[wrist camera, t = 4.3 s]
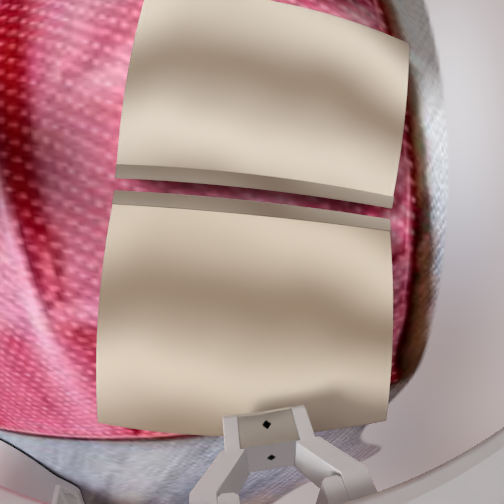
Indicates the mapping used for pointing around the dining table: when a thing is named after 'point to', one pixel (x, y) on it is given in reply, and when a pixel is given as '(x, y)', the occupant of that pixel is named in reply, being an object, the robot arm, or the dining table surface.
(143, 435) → the dining table surface
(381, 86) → the board
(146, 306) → the loose plank
